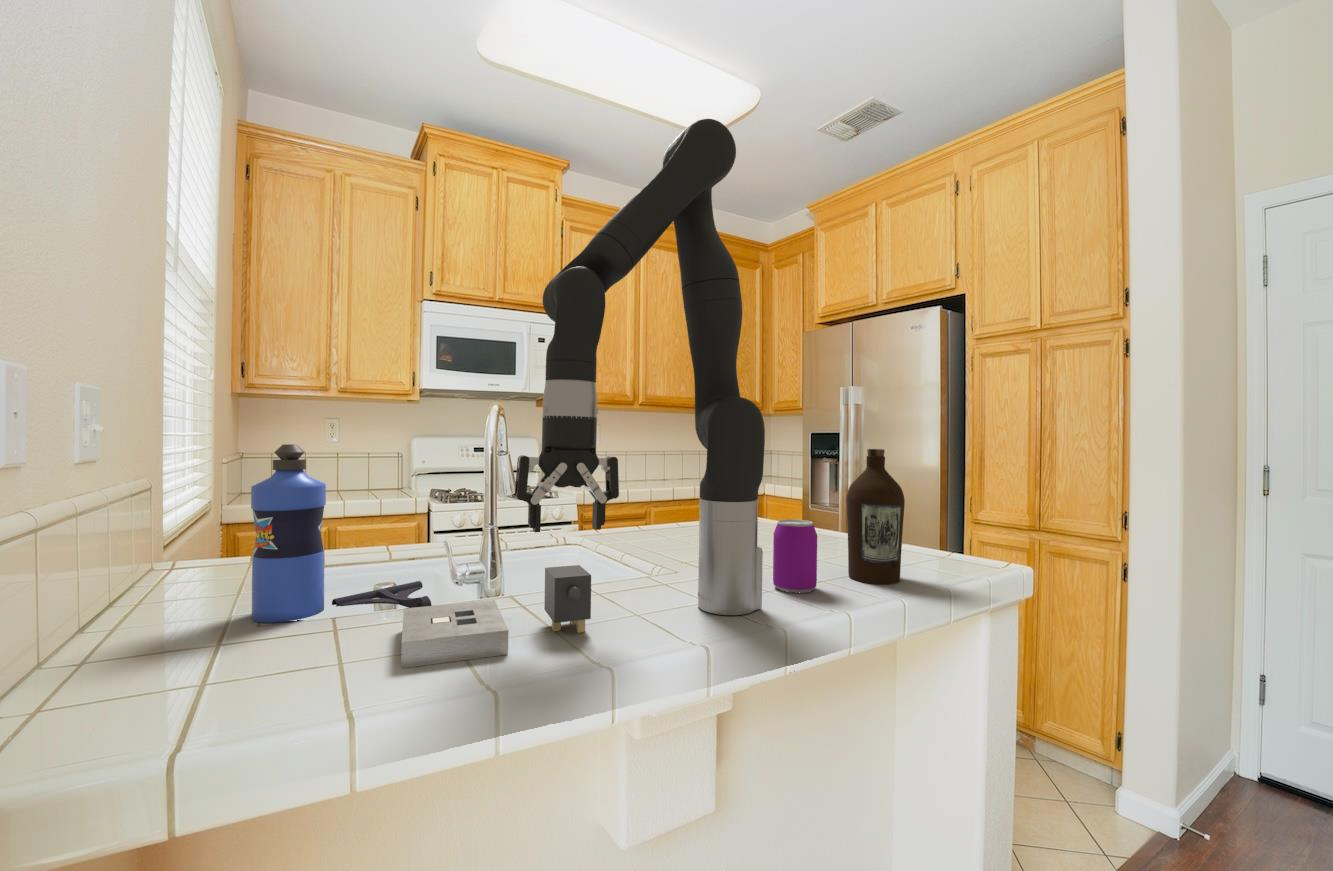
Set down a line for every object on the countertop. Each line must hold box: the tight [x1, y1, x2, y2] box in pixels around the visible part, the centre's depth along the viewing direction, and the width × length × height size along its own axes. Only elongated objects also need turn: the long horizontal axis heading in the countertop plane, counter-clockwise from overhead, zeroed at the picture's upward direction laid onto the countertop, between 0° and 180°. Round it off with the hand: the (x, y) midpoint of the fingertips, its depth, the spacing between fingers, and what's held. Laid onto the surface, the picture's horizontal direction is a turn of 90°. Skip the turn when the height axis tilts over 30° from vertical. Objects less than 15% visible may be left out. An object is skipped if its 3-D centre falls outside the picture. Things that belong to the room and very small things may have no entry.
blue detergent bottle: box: [250, 443, 327, 624], centre depth 88 cm, size 9×9×25 cm
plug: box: [544, 564, 592, 633], centre depth 82 cm, size 5×8×8 cm, turn 23°
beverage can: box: [772, 518, 818, 594], centre depth 106 cm, size 8×8×12 cm
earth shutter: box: [432, 617, 450, 624], centre depth 76 cm, size 2×2×1 cm
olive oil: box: [845, 448, 906, 585], centre depth 114 cm, size 11×11×25 cm
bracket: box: [331, 580, 433, 608], centre depth 94 cm, size 14×15×3 cm
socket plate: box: [400, 599, 509, 669], centre depth 77 cm, size 12×14×3 cm
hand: (566, 530), depth 83 cm, fingers open, 8 cm apart
